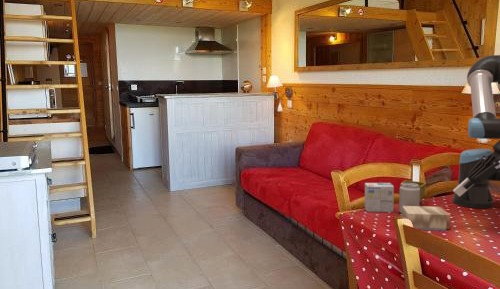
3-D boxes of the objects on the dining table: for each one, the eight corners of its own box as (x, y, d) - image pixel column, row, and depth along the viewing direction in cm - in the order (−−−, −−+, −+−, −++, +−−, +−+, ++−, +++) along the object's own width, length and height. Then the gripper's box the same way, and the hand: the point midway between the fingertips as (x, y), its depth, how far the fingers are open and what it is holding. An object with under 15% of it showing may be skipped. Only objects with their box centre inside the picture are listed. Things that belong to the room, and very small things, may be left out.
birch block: (441, 206, 151) (402, 205, 153) (450, 215, 141) (408, 213, 143) (440, 219, 151) (401, 218, 153) (449, 228, 142) (407, 227, 144)
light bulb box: (389, 207, 169) (390, 182, 168) (393, 212, 162) (394, 186, 161) (363, 207, 170) (364, 182, 169) (366, 212, 163) (367, 185, 162)
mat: (435, 219, 153) (435, 218, 153) (446, 230, 140) (446, 230, 140) (399, 218, 155) (399, 217, 155) (407, 229, 142) (407, 228, 142)
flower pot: (404, 199, 181) (405, 179, 180) (425, 202, 176) (426, 182, 174) (399, 204, 174) (399, 183, 172) (420, 207, 169) (421, 186, 167)
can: (395, 211, 164) (396, 182, 162) (413, 210, 165) (414, 181, 163) (404, 216, 157) (405, 186, 155) (422, 216, 157) (424, 185, 156)
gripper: (527, 157, 132) (470, 206, 138) (509, 151, 145) (458, 195, 150) (510, 141, 133) (454, 190, 138) (494, 136, 145) (443, 181, 151)
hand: (456, 193), depth 144 cm, fingers closed
